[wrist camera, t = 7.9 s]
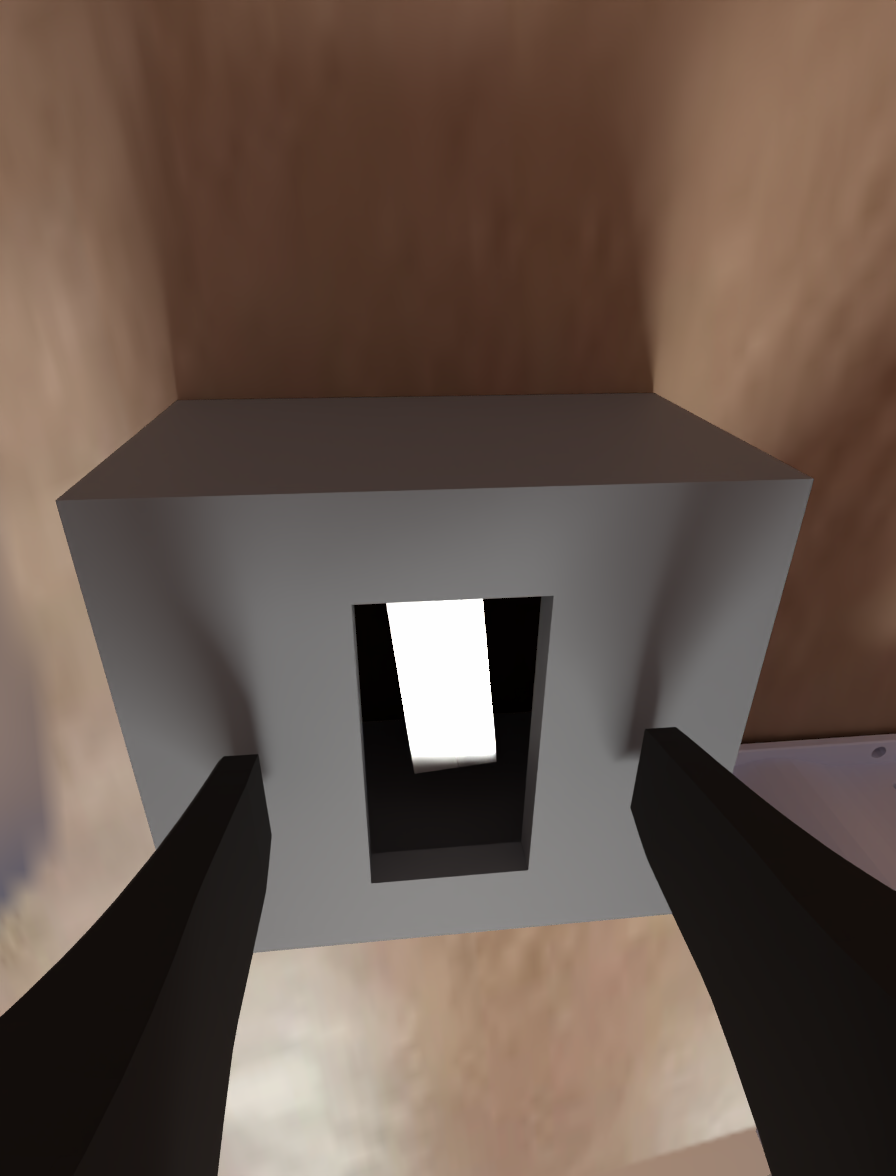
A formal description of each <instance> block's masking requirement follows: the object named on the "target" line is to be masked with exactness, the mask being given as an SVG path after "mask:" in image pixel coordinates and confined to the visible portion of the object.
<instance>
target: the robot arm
mask: <svg viewBox="0 0 896 1176" xmlns="http://www.w3.org/2000/svg"><path fill="white" fill-rule="evenodd" d="M630 808H631V812H632V815H633V818H634V821H635V824H636V828H637V831H638V834H639V837H640V840H641V843H642V846H643V849H644V852H645V855H646V858H647V860H648V862H649V865H650V867H651V869H652V871H653V873H654V876H655V878H656V880H657V882H658V884H659V886H660V889H661V891H662V893H663V895H664V897H665V899H666V901H667V904H668V906H669V908H670V910H671V912H672V914H673V916H674V918H675V921H676V923H677V925H678V927H679V929H680V931H681V933H682V935H683V937H684V940H685V942H686V944H687V946H688V948H689V950H690V952H691V954H692V957H693V959H694V961H695V963H696V965H697V967H698V969H699V971H700V973H701V976H702V978H703V980H704V983H705V985H706V988H707V990H708V992H709V995H710V997H711V999H712V1002H713V1004H714V1007H715V1010H716V1013H717V1015H718V1018H719V1021H720V1024H721V1026H722V1029H723V1032H724V1035H725V1037H726V1040H727V1043H728V1046H729V1048H730V1051H731V1054H732V1057H733V1059H734V1062H735V1065H736V1068H737V1071H738V1074H739V1077H740V1080H741V1083H742V1086H743V1089H744V1092H745V1095H746V1098H747V1101H748V1103H749V1106H750V1109H751V1112H752V1115H753V1118H754V1121H755V1124H756V1127H757V1129H756V1133H757V1135H758V1137H759V1140H760V1142H761V1144H762V1147H763V1149H764V1152H765V1156H766V1159H767V1162H768V1165H769V1168H770V1171H771V1174H769V1175H768V1176H896V734H883V735H869V736H854V737H839V738H825V739H810V740H795V741H781V742H766V743H751V744H740V748H739V751H738V755H737V759H736V762H735V766H734V769H733V773H731V772H730V771H728V770H727V769H726V768H725V767H724V766H722V765H721V764H720V763H719V762H718V761H716V760H715V759H714V758H713V757H712V756H711V755H709V754H708V753H707V752H706V751H705V750H703V749H702V748H701V747H700V746H699V745H698V744H696V743H695V742H694V741H693V740H692V739H690V738H689V737H688V736H687V735H685V734H684V733H683V732H682V731H680V730H679V729H678V728H677V727H666V728H651V729H645V731H644V737H643V742H642V747H641V753H640V758H639V764H638V769H637V774H636V780H635V785H634V790H633V796H632V801H631V806H630ZM271 839H272V833H271V827H270V821H269V815H268V809H267V803H266V797H265V791H264V785H263V779H262V773H261V767H260V761H259V755H258V754H251V755H235V756H224V757H222V758H221V759H220V760H219V761H218V763H217V764H216V766H215V767H214V769H213V770H212V772H211V774H210V775H209V777H208V778H207V780H206V781H205V783H204V784H203V786H202V787H201V789H200V790H199V792H198V793H197V794H196V796H195V797H194V799H193V800H192V802H191V803H190V805H189V806H188V807H187V809H186V810H185V812H184V813H183V814H182V816H181V817H180V819H179V820H178V821H177V823H176V824H175V825H174V827H173V828H172V829H171V831H170V832H169V833H168V835H167V836H166V837H165V839H164V840H163V841H162V843H161V844H160V846H159V847H158V848H157V850H156V851H155V852H154V853H153V855H152V856H151V857H150V859H149V860H148V861H147V862H146V864H145V865H144V866H143V867H142V868H141V870H140V871H139V872H138V873H137V874H136V876H135V877H134V878H133V879H132V881H131V882H130V883H129V884H128V885H127V887H126V888H125V889H124V890H123V891H122V893H121V894H120V895H119V896H118V898H117V899H116V900H115V901H114V902H113V903H112V904H111V906H110V907H109V908H108V909H107V910H106V911H105V912H104V914H103V915H102V916H101V917H100V918H99V919H98V920H97V921H96V922H95V924H94V925H93V926H92V927H91V928H90V929H89V930H88V931H87V932H86V933H85V934H84V935H83V936H82V938H81V939H80V940H79V941H78V942H77V943H76V944H75V945H74V946H73V947H72V948H71V949H70V950H69V951H68V952H67V953H66V954H65V955H64V956H63V957H62V958H61V959H60V960H59V961H58V962H57V963H56V964H55V965H54V966H53V967H52V968H51V969H50V970H49V971H48V972H47V973H46V974H45V975H44V976H43V977H42V978H41V979H40V980H39V981H38V982H37V983H36V984H35V985H34V986H33V987H32V988H31V989H30V990H29V991H28V992H27V993H26V994H25V995H24V996H22V997H21V998H20V999H19V1000H18V1001H17V1002H16V1003H15V1004H14V1005H13V1006H12V1007H11V1008H10V1009H9V1010H7V1011H6V1012H5V1013H4V1014H3V1015H2V1016H1V1017H0V1176H217V1175H218V1166H219V1158H220V1149H221V1140H222V1132H223V1123H224V1115H225V1107H226V1099H227V1091H228V1084H229V1076H230V1068H231V1060H232V1053H233V1047H234V1041H235V1035H236V1030H237V1024H238V1019H239V1015H240V1010H241V1005H242V1001H243V996H244V992H245V987H246V983H247V978H248V973H249V969H250V964H251V960H252V955H253V951H254V946H255V941H256V937H257V932H258V927H259V923H260V918H261V913H262V909H263V904H264V899H265V894H266V888H267V879H268V870H269V860H270V850H271Z"/></svg>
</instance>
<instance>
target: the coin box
mask: <svg viewBox="0 0 896 1176" xmlns="http://www.w3.org/2000/svg"><path fill="white" fill-rule="evenodd" d="M813 480H814V479H813V478H811V477H810V476H808V475H806V474H804V473H802V472H800V471H798V470H797V469H795V468H793V467H791V466H789V465H787V464H785V463H784V462H782V461H780V460H778V459H776V458H774V457H772V456H771V455H769V454H767V453H765V452H763V451H761V450H759V449H758V448H756V447H754V446H752V445H750V444H748V443H746V442H745V441H743V440H741V439H739V438H737V437H735V436H733V435H732V434H730V433H728V432H726V431H724V430H722V429H720V428H719V427H717V426H715V425H713V424H711V423H709V422H707V421H706V420H704V419H702V418H700V417H698V416H696V415H694V414H692V413H691V412H689V411H687V410H685V409H683V408H681V407H679V406H678V405H676V404H674V403H672V402H670V401H668V400H666V399H665V398H663V397H661V396H659V395H657V394H655V393H617V394H551V395H486V396H420V397H354V398H289V399H223V400H177V401H176V402H174V403H173V404H172V405H171V406H169V407H168V408H167V409H166V410H165V411H163V412H162V413H161V414H160V415H159V416H157V417H156V418H155V419H154V420H152V421H151V422H150V423H149V424H148V425H146V426H145V427H144V428H143V429H142V430H140V431H139V432H138V433H137V434H136V435H134V436H133V437H132V438H131V439H129V440H128V441H127V442H126V443H125V444H123V445H122V446H121V447H120V448H119V449H117V450H116V451H115V452H114V453H112V454H111V455H110V456H109V457H108V458H106V459H105V460H104V461H103V462H102V463H100V464H99V465H98V466H97V467H96V468H94V469H93V470H92V471H91V472H89V473H88V474H87V475H86V476H85V477H83V478H82V479H81V480H80V481H79V482H77V483H76V484H75V485H74V486H73V487H71V488H70V489H69V490H68V491H66V492H65V493H64V494H63V495H62V496H60V497H59V498H58V499H57V500H56V504H57V508H58V511H59V515H60V518H61V521H62V525H63V528H64V532H65V535H66V539H67V542H68V546H69V549H70V553H71V556H72V560H73V563H74V567H75V570H76V574H77V577H78V581H79V584H80V588H81V591H82V594H83V598H84V601H85V605H86V608H87V612H88V615H89V619H90V622H91V626H92V629H93V633H94V636H95V640H96V643H97V647H98V650H99V654H100V657H101V661H102V664H103V667H104V671H105V674H106V678H107V681H108V685H109V688H110V692H111V695H112V699H113V702H114V706H115V709H116V713H117V716H118V720H119V723H120V727H121V730H122V734H123V737H124V740H125V744H126V747H127V751H128V754H129V758H130V761H131V765H132V768H133V772H134V775H135V779H136V782H137V786H138V789H139V793H140V796H141V800H142V803H143V806H144V810H145V813H146V817H147V820H148V824H149V827H150V831H151V834H152V838H153V841H154V845H155V848H156V850H157V848H158V847H159V846H160V844H161V843H162V841H163V840H164V839H165V837H166V836H167V835H168V833H169V832H170V831H171V829H172V828H173V827H174V825H175V824H176V823H177V821H178V820H179V819H180V817H181V816H182V814H183V813H184V812H185V810H186V809H187V807H188V806H189V805H190V803H191V802H192V800H193V799H194V797H195V796H196V794H197V793H198V792H199V790H200V789H201V787H202V786H203V784H204V783H205V781H206V780H207V778H208V777H209V775H210V774H211V772H212V770H213V769H214V767H215V766H216V764H217V763H218V761H219V760H220V759H221V758H222V757H224V756H235V755H251V754H258V755H259V761H260V767H261V773H262V779H263V785H264V791H265V797H266V803H267V809H268V815H269V821H270V827H271V833H272V839H271V850H270V860H269V870H268V879H267V888H266V894H265V899H264V904H263V909H262V913H261V918H260V923H259V927H258V932H257V937H256V941H255V946H254V951H253V953H256V952H267V951H277V950H288V949H299V948H310V947H321V946H331V945H342V944H353V943H364V942H374V941H385V940H396V939H407V938H417V937H428V936H439V935H450V934H461V933H471V932H482V931H493V930H504V929H514V928H525V927H536V926H547V925H557V924H568V923H579V922H590V921H601V920H611V919H622V918H633V917H644V916H654V915H665V914H672V912H671V910H670V908H669V906H668V904H667V901H666V899H665V897H664V895H663V893H662V891H661V889H660V886H659V884H658V882H657V880H656V878H655V876H654V873H653V871H652V869H651V867H650V865H649V862H648V860H647V858H646V855H645V852H644V849H643V846H642V843H641V840H640V837H639V834H638V831H637V828H636V824H635V821H634V818H633V815H632V812H631V808H630V806H631V801H632V796H633V790H634V785H635V780H636V774H637V769H638V764H639V758H640V753H641V747H642V742H643V737H644V731H645V729H651V728H666V727H677V728H678V729H679V730H680V731H682V732H683V733H684V734H685V735H687V736H688V737H689V738H690V739H692V740H693V741H694V742H695V743H696V744H698V745H699V746H700V747H701V748H702V749H703V750H705V751H706V752H707V753H708V754H709V755H711V756H712V757H713V758H714V759H715V760H716V761H718V762H719V763H720V764H721V765H722V766H724V767H725V768H726V769H727V770H728V771H730V772H731V773H733V769H734V766H735V762H736V759H737V755H738V751H739V748H740V744H741V741H742V737H743V733H744V730H745V726H746V722H747V719H748V715H749V712H750V708H751V704H752V701H753V697H754V694H755V690H756V686H757V683H758V679H759V675H760V672H761V668H762V665H763V661H764V657H765V654H766V650H767V647H768V643H769V639H770V636H771V632H772V628H773V625H774V621H775V618H776V614H777V610H778V607H779V603H780V600H781V596H782V592H783V589H784V585H785V581H786V578H787V574H788V571H789V567H790V563H791V560H792V556H793V553H794V549H795V545H796V542H797V538H798V534H799V531H800V527H801V524H802V520H803V516H804V513H805V509H806V506H807V502H808V498H809V495H810V491H811V487H812V484H813ZM536 596H541V608H540V620H539V632H538V644H537V656H536V668H535V680H534V692H533V704H532V712H516V713H500V714H493V725H494V737H495V748H496V760H497V762H490V763H483V764H477V765H470V766H463V767H457V768H450V769H443V770H437V771H430V772H423V773H417V774H415V773H414V767H413V761H412V755H411V749H410V743H409V737H408V731H407V725H406V719H402V720H386V721H370V722H362V713H361V699H360V684H359V670H358V655H357V641H356V626H355V612H354V605H357V604H379V603H402V602H424V601H447V600H469V599H491V598H514V597H536Z"/></svg>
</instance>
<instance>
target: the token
mask: <svg viewBox="0 0 896 1176" xmlns="http://www.w3.org/2000/svg"><path fill="white" fill-rule="evenodd" d="M386 605H387V611H388V617H389V623H390V629H391V635H392V641H393V647H394V653H395V659H396V665H397V671H398V677H399V683H400V689H401V695H402V701H403V707H404V713H405V719H406V725H407V731H408V737H409V743H410V749H411V755H412V761H413V767H414V773H415V774H417V773H423V772H430V771H437V770H443V769H450V768H457V767H463V766H470V765H477V764H483V763H490V762H497V760H496V748H495V737H494V725H493V713H492V702H491V690H490V678H489V666H488V655H487V643H486V631H485V620H484V608H483V599H469V600H447V601H424V602H402V603H386Z"/></svg>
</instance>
